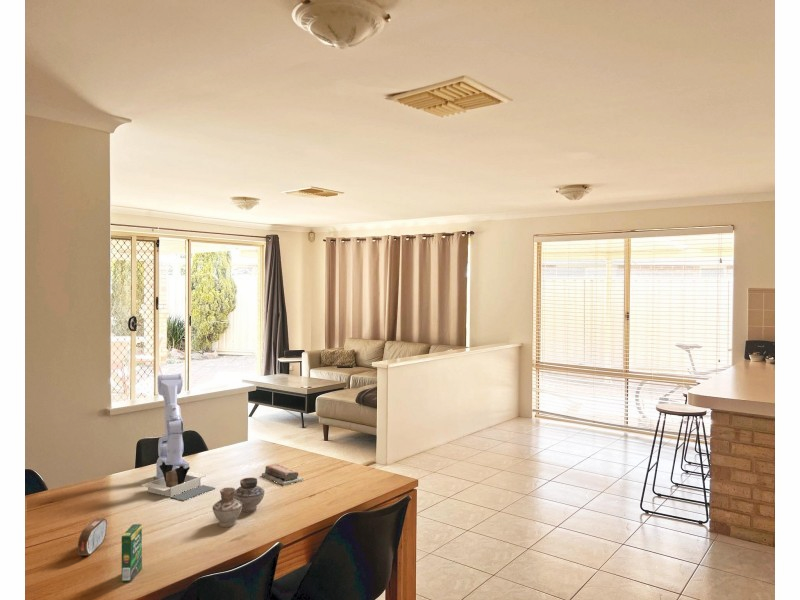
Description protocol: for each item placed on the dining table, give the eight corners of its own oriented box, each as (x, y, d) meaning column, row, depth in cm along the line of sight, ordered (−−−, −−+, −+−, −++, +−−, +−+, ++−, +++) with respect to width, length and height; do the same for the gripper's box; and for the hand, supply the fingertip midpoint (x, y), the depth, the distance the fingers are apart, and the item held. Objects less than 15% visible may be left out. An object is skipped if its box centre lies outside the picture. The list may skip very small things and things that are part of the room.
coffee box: (131, 582, 157) (131, 535, 157) (120, 583, 157) (120, 535, 157) (142, 568, 165) (142, 523, 165) (132, 568, 165) (132, 523, 165)
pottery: (205, 528, 194) (205, 493, 194) (242, 502, 218) (242, 470, 218) (235, 531, 191) (235, 496, 191) (269, 505, 216) (269, 473, 216)
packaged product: (260, 465, 249) (280, 461, 256) (260, 476, 249) (280, 472, 256) (283, 475, 236) (303, 470, 243) (283, 487, 237) (303, 481, 244)
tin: (98, 539, 185) (98, 513, 185) (108, 538, 185) (108, 513, 185) (76, 561, 170) (76, 532, 170) (87, 560, 170) (87, 532, 170)
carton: (141, 493, 226) (141, 484, 226) (184, 478, 245) (184, 470, 245) (163, 499, 220) (163, 490, 220) (205, 483, 239) (206, 475, 239)
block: (165, 489, 231) (166, 472, 231) (176, 486, 236) (176, 469, 236) (172, 491, 229) (172, 474, 229) (182, 487, 234) (182, 470, 234)
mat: (170, 498, 222) (170, 497, 222) (203, 485, 236) (203, 484, 236) (183, 501, 218) (183, 500, 218) (215, 488, 233) (215, 487, 233)
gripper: (154, 449, 232) (154, 483, 232) (178, 454, 225) (178, 489, 225) (168, 445, 238) (168, 478, 238) (193, 450, 231) (193, 483, 232)
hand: (174, 483), depth 232 cm, fingers open, 7 cm apart
